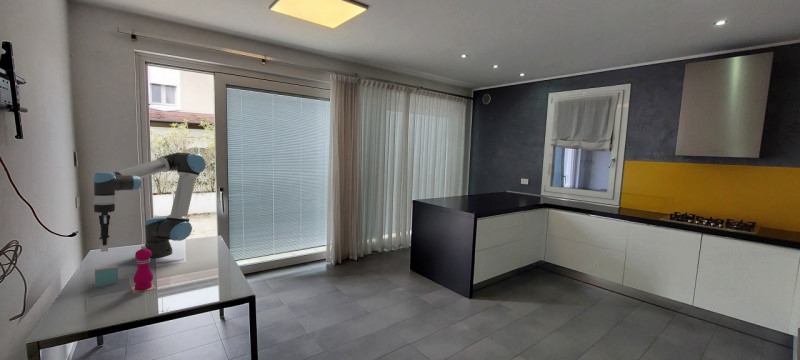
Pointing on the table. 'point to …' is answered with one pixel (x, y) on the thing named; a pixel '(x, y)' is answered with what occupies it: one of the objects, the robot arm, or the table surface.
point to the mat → (109, 288)
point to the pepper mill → (143, 269)
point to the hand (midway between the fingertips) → (104, 251)
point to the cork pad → (142, 290)
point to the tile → (106, 276)
